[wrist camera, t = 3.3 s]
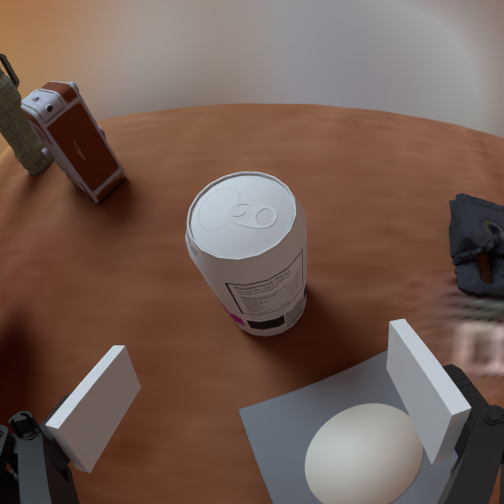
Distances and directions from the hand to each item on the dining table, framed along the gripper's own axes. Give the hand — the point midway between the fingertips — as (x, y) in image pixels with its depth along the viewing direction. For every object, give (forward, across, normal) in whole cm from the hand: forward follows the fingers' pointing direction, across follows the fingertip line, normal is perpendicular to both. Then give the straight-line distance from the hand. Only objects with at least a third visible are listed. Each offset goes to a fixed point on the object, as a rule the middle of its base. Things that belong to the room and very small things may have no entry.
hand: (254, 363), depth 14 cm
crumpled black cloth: (+19, +33, -4) cm, 38 cm away
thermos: (+45, -50, +23) cm, 71 cm away
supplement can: (+18, 0, -4) cm, 18 cm away
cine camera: (+37, -30, +15) cm, 50 cm away
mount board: (+5, +7, -16) cm, 19 cm away
